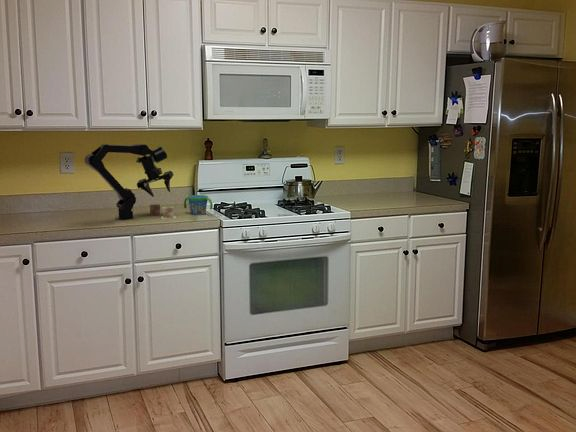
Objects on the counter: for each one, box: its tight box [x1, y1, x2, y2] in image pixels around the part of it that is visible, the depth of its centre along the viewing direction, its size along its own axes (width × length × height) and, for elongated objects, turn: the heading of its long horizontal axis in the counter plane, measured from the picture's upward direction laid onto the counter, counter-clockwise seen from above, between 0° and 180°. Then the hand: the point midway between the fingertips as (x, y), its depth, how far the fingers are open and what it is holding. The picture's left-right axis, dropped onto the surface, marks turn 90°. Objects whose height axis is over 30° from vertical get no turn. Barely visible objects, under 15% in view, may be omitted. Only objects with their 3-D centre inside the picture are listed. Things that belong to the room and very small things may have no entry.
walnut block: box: [149, 203, 161, 217], centre depth 316 cm, size 5×5×5 cm
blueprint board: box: [160, 215, 177, 220], centre depth 313 cm, size 16×20×1 cm
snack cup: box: [183, 194, 213, 216], centre depth 320 cm, size 16×10×10 cm
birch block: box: [162, 206, 175, 219], centre depth 308 cm, size 5×5×5 cm
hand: (161, 194), depth 315 cm, fingers open, 9 cm apart
